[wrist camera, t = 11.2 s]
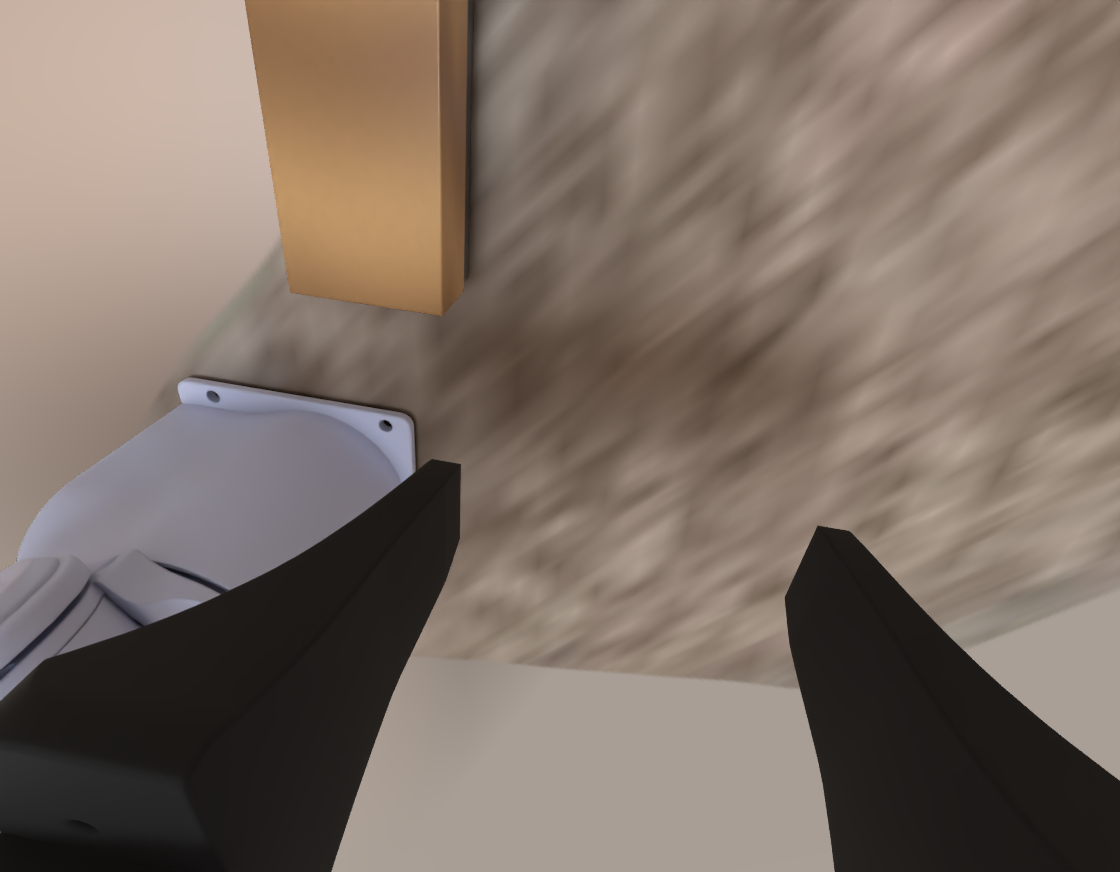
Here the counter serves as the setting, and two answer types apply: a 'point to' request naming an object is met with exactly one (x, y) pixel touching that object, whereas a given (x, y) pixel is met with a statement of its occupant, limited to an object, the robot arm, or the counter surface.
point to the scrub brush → (369, 145)
